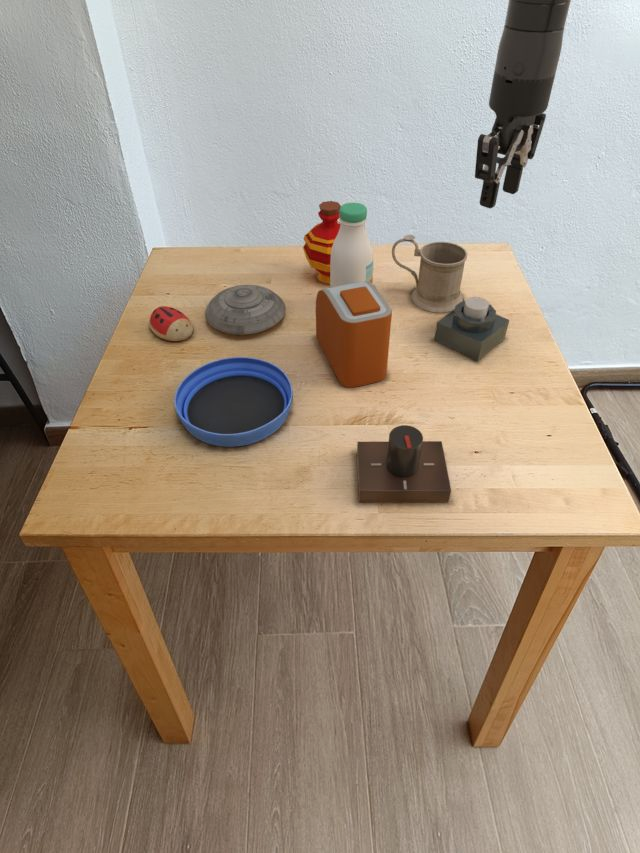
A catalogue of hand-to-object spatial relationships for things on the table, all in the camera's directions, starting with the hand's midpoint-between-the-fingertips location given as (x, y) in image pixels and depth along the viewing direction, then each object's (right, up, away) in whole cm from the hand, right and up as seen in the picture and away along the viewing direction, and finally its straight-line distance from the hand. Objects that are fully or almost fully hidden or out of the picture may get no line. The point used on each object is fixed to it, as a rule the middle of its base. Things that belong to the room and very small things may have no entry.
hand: (498, 198), depth 85 cm
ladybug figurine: (-54, -16, +22) cm, 60 cm away
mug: (-6, -8, +28) cm, 30 cm away
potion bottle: (-24, -3, +34) cm, 42 cm away
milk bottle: (-20, -11, +25) cm, 35 cm away
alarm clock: (-21, -22, +15) cm, 34 cm away
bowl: (-39, -31, +6) cm, 51 cm away
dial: (-15, -39, -6) cm, 42 cm away
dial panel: (-15, -41, -4) cm, 43 cm away
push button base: (0, -18, +18) cm, 26 cm away
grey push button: (0, -14, +14) cm, 20 cm away
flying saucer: (-40, -13, +24) cm, 49 cm away
